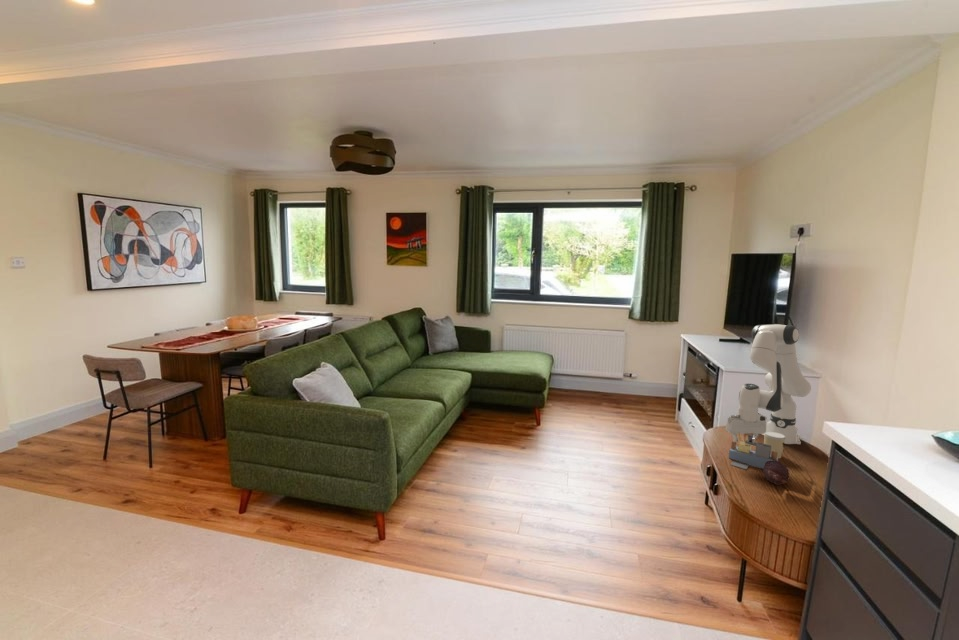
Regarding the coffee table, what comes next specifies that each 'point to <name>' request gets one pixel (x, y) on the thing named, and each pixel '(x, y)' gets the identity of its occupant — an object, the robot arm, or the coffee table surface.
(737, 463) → the mat
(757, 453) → the plane body
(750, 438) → the ball-knob lever
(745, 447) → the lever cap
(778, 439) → the coffee cup
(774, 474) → the pine cone
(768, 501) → the coffee table surface
